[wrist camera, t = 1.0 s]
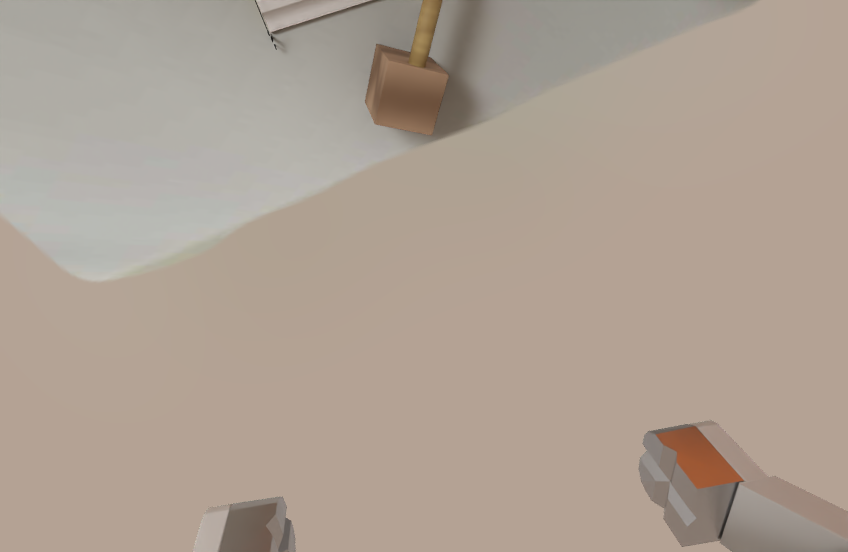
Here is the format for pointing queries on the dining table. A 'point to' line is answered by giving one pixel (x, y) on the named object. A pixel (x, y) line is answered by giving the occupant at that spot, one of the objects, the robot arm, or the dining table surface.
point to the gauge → (408, 80)
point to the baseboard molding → (298, 11)
